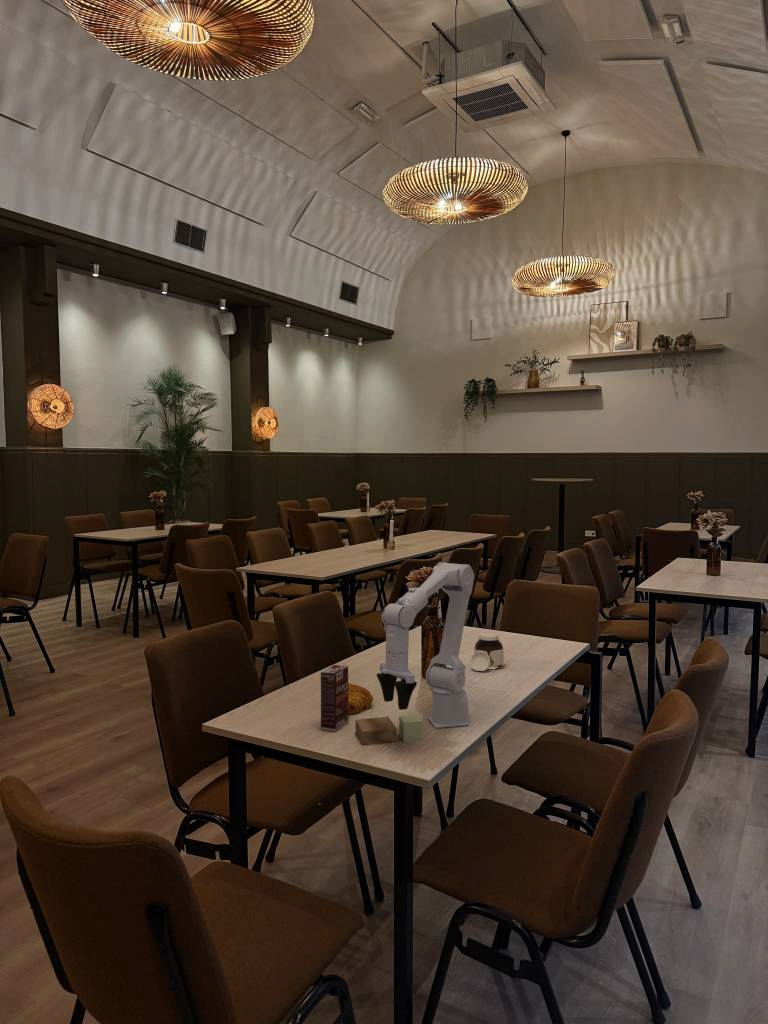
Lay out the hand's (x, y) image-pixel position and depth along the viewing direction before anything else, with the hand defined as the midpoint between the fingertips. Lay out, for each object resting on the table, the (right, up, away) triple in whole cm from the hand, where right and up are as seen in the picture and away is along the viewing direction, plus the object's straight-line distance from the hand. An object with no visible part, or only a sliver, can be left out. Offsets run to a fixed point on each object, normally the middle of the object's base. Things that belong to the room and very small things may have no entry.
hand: (395, 705), depth 182 cm
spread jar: (+33, -6, +70) cm, 77 cm away
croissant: (-14, -9, +31) cm, 35 cm away
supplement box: (-16, -10, +15) cm, 24 cm away
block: (-5, -11, +6) cm, 13 cm away
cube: (+4, -10, +6) cm, 13 cm away
